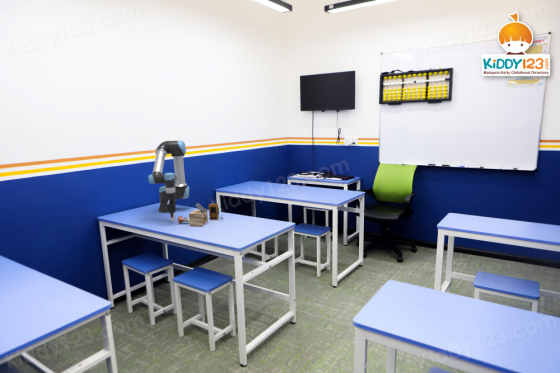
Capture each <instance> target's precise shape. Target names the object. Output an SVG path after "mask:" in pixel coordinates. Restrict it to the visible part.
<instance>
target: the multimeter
mask: <svg viewBox="0 0 560 373" xmlns="http://www.w3.org/2000/svg"><path fill="white" fill-rule="evenodd" d="M209 197H211V199H212V200H211V201H212V202H211V203H208V199H209ZM216 197H217V198H218V199H219V200H220V204H221V205H223V203H222V201H221V199H220V197H219V196H214V197H212V196H208V197H207V200H206V201H207V204H208V205H207V207H208V209H207V213H208V216H209V217H208V219H209V220H210V221H211V220H215V221H217V220H219V219H224V217H223V216H219V215H220V211H219V209H220V208H219V204H218V203H215V201H214V200H215V198H216Z"/></svg>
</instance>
